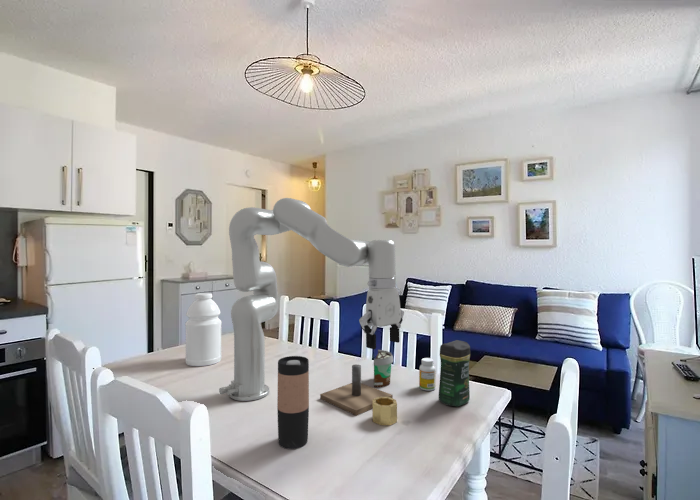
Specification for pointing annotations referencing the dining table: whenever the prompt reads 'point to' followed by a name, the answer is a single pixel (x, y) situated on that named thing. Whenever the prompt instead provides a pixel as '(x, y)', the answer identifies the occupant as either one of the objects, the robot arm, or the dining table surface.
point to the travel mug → (293, 401)
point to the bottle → (203, 332)
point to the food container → (382, 368)
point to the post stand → (354, 394)
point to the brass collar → (384, 410)
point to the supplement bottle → (427, 375)
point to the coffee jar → (454, 373)
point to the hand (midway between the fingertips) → (383, 344)
